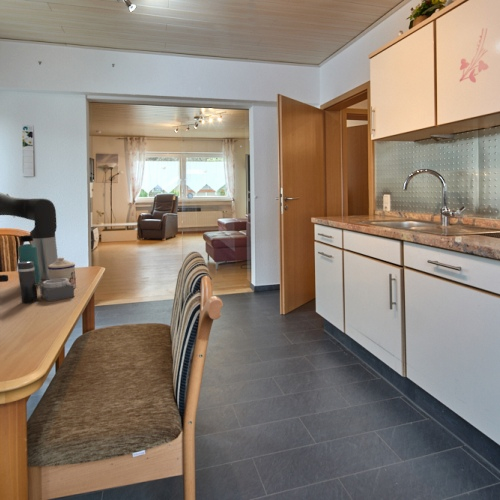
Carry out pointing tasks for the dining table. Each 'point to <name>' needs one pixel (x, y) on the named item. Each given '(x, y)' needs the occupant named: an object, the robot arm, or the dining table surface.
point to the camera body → (56, 289)
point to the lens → (27, 282)
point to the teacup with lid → (63, 271)
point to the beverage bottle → (29, 255)
